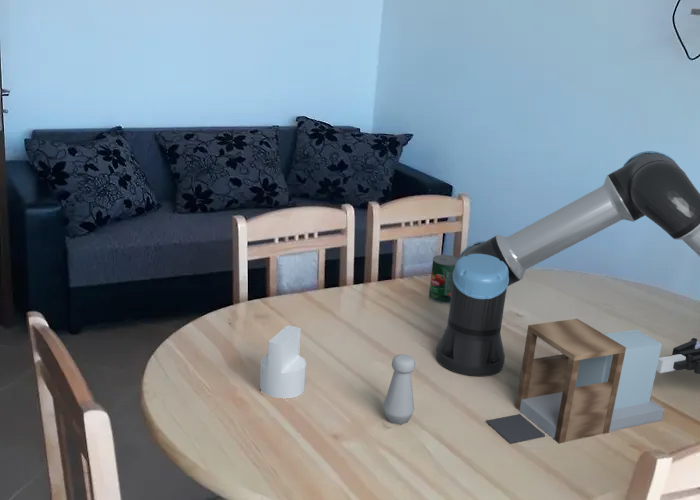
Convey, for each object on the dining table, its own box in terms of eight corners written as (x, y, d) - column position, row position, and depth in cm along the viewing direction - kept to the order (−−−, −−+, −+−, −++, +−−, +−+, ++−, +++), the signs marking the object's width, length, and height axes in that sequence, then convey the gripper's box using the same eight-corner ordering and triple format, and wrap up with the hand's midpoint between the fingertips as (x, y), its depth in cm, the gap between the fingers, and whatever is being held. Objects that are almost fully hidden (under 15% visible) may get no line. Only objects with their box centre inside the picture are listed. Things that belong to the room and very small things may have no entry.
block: (624, 386, 162) (636, 329, 158) (649, 402, 156) (662, 343, 152) (571, 396, 156) (582, 337, 152) (595, 413, 150) (607, 352, 146)
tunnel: (562, 398, 160) (577, 318, 155) (608, 432, 149) (626, 347, 143) (515, 407, 155) (528, 325, 150) (559, 443, 144) (574, 355, 138)
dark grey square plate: (519, 415, 153) (519, 413, 152) (545, 436, 146) (545, 435, 146) (485, 421, 149) (485, 420, 149) (510, 443, 142) (510, 442, 142)
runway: (615, 389, 166) (618, 379, 165) (662, 420, 155) (664, 409, 154) (516, 408, 155) (518, 397, 154) (558, 442, 144) (560, 430, 143)
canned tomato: (463, 299, 209) (468, 260, 206) (447, 306, 204) (451, 266, 200) (439, 290, 214) (444, 252, 211) (422, 297, 209) (427, 258, 205)
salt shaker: (390, 429, 144) (396, 366, 140) (377, 413, 149) (383, 352, 145) (418, 424, 147) (425, 362, 143) (404, 409, 152) (410, 349, 147)
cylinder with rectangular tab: (293, 404, 150) (296, 348, 146) (251, 393, 153) (253, 338, 149) (311, 384, 158) (315, 331, 155) (271, 374, 161) (274, 321, 157)
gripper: (761, 380, 164) (679, 397, 155) (711, 353, 176) (632, 367, 166) (769, 347, 162) (687, 363, 152) (718, 323, 173) (638, 335, 163)
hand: (658, 365), depth 159 cm, fingers closed
